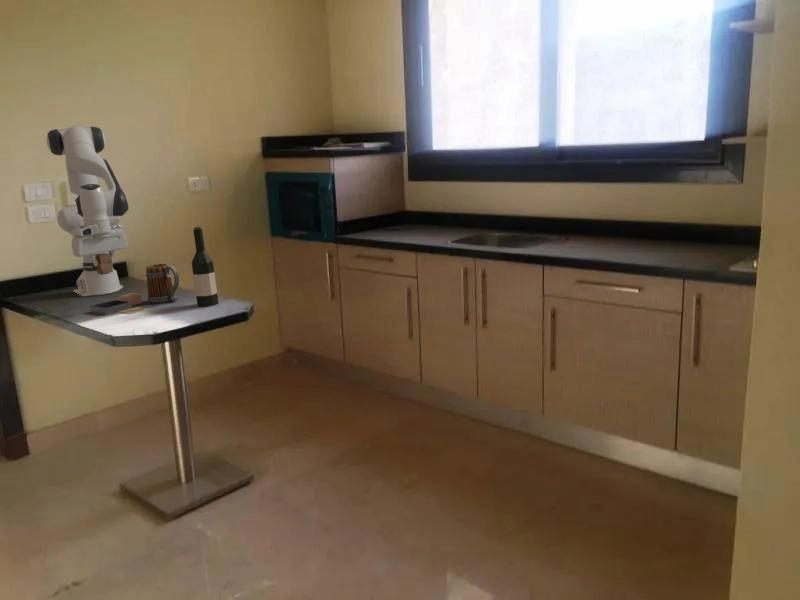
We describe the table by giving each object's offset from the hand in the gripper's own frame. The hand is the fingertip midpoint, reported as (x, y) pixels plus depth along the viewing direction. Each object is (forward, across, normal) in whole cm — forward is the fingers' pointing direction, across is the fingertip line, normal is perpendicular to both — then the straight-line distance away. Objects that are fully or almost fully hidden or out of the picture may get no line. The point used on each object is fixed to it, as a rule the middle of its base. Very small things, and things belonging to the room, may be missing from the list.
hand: (103, 264), depth 255 cm
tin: (+18, 0, 0) cm, 19 cm away
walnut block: (+3, 0, 0) cm, 3 cm away
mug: (+19, -19, +8) cm, 28 cm away
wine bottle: (+18, -24, +28) cm, 41 cm away
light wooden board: (+18, -3, +10) cm, 21 cm away
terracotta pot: (+18, -10, -3) cm, 21 cm away
